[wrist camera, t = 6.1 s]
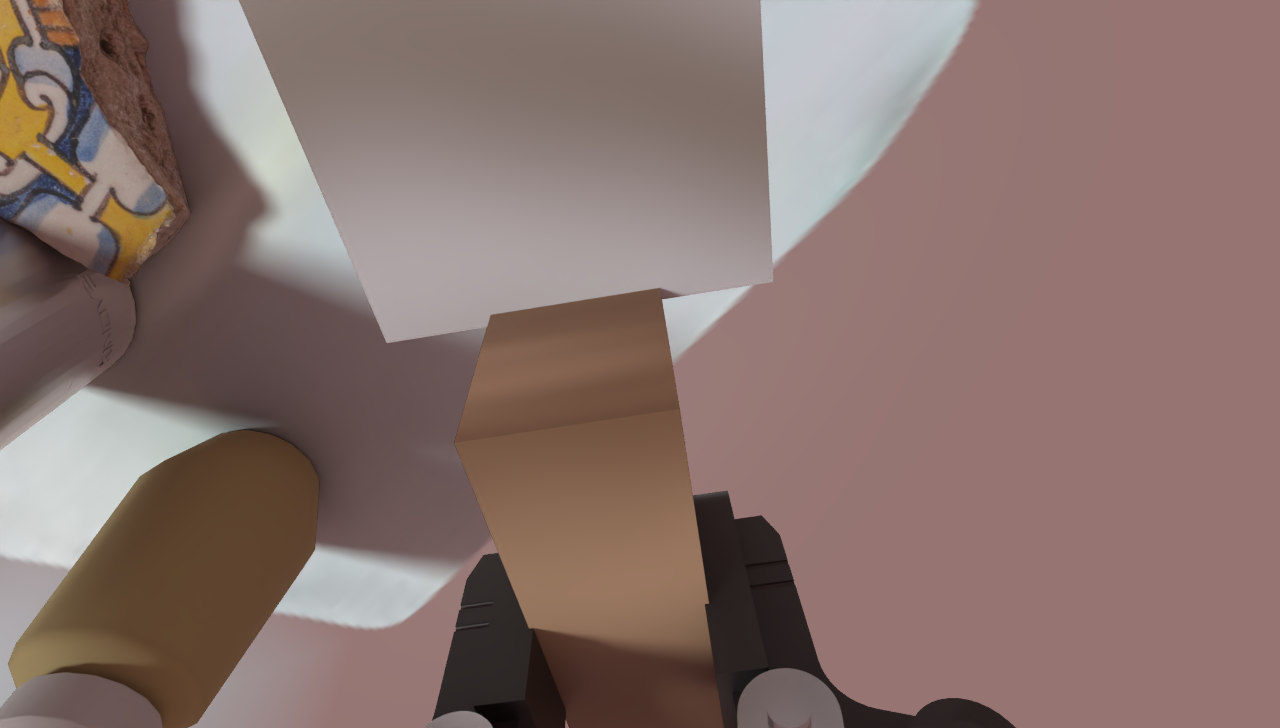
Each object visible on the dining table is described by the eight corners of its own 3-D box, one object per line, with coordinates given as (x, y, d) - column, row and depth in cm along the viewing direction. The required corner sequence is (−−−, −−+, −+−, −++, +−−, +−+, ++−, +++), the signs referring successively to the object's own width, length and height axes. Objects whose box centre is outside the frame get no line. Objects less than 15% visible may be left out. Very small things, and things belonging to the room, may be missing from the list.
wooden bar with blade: (786, 680, 17) (826, 843, 14) (556, 711, 17) (547, 877, 14) (737, -260, 7) (838, -399, 4) (199, -155, 7) (-80, -211, 4)
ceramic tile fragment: (235, 254, 25) (6, 327, 26) (274, 228, 28) (66, 294, 29) (-1, -125, 19) (-282, -13, 20) (79, -109, 22) (-171, -11, 23)
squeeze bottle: (286, 556, 37) (46, 981, 21) (144, 474, 33) (-264, 903, 18) (375, 475, 34) (178, 890, 18) (231, 378, 31) (-155, 779, 15)
